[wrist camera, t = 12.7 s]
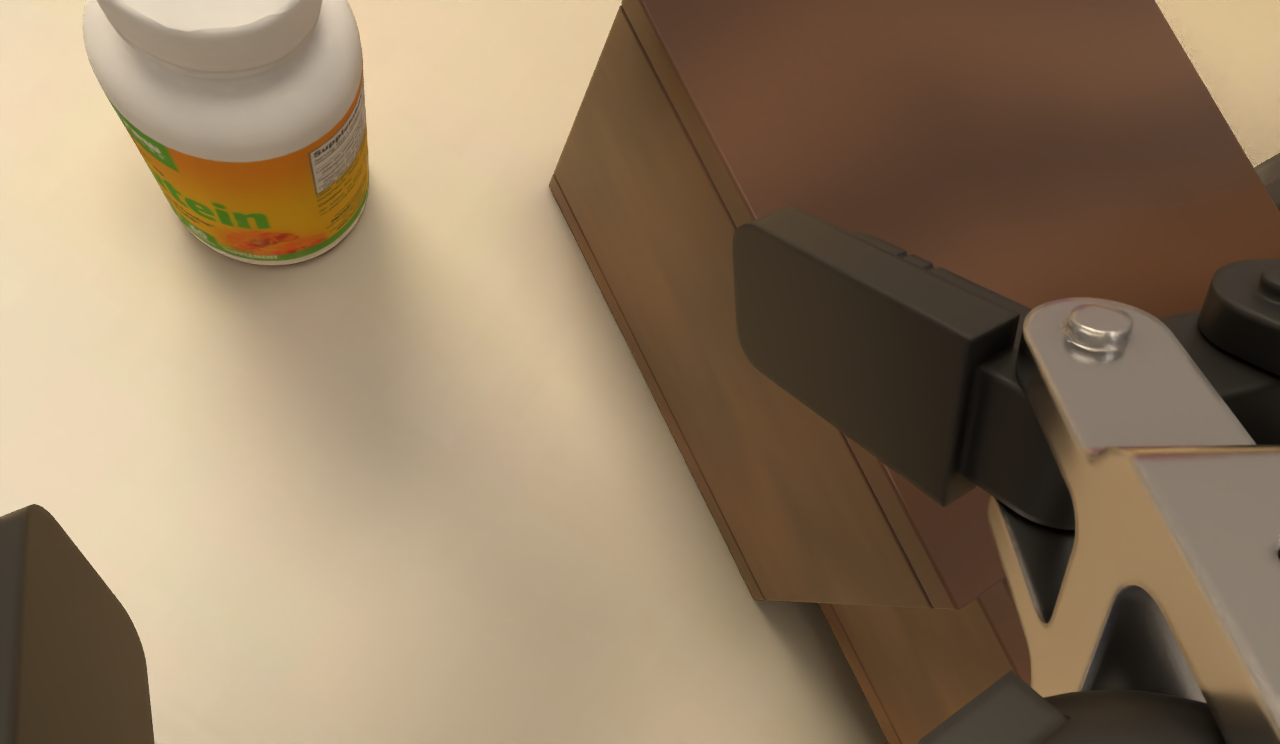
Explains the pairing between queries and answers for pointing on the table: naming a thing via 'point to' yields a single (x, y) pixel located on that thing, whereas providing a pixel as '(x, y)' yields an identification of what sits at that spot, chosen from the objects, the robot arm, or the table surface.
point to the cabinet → (885, 227)
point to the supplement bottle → (242, 116)
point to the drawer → (929, 657)
